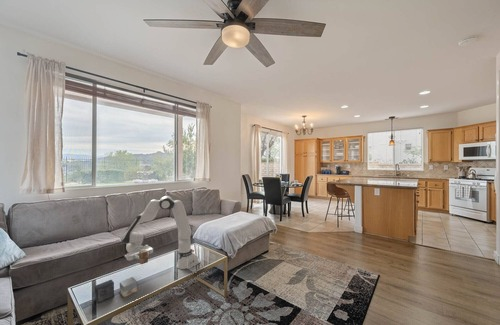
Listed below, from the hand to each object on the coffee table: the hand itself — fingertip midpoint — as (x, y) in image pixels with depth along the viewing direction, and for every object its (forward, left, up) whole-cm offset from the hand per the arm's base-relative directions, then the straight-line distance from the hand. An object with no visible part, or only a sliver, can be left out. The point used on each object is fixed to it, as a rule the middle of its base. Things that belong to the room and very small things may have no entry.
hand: (143, 256), depth 168 cm
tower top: (+12, +2, -19) cm, 22 cm away
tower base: (+12, +2, -23) cm, 26 cm away
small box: (+26, -3, -23) cm, 35 cm away
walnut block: (0, -1, -5) cm, 5 cm away
